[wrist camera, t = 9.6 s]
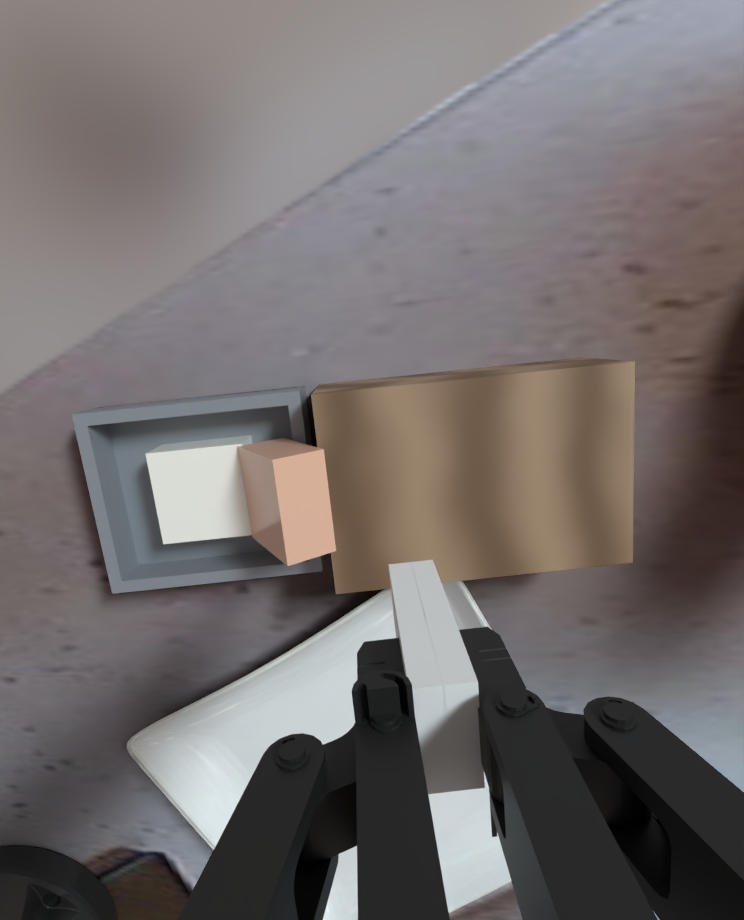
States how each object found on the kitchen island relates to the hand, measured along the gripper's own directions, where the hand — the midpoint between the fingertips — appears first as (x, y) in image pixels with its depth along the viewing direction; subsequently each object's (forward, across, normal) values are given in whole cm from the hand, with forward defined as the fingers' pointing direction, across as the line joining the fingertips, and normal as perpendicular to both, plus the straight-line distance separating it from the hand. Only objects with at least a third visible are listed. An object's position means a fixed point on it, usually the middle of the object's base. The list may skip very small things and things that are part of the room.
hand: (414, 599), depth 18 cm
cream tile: (+16, +12, 0) cm, 20 cm away
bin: (+20, +12, 0) cm, 23 cm away
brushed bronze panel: (+20, -5, 0) cm, 21 cm away
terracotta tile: (+15, +5, 0) cm, 16 cm away
